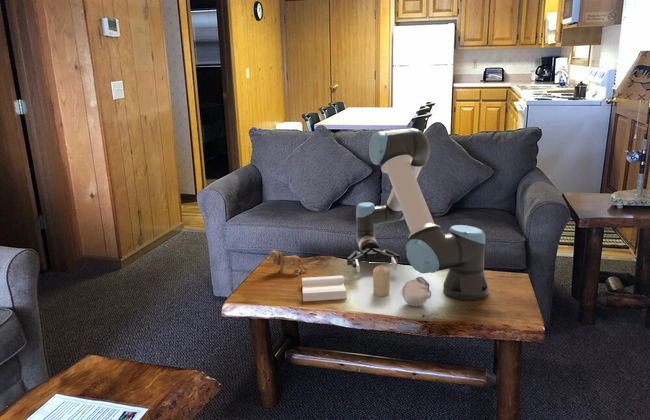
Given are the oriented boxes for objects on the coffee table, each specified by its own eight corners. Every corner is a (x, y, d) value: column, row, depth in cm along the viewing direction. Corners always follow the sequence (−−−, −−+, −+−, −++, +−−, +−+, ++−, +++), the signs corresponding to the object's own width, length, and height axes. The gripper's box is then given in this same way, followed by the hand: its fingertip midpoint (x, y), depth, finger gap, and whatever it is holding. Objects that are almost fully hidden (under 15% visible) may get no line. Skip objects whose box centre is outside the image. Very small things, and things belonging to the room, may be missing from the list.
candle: (388, 296, 185) (388, 269, 182) (372, 296, 186) (372, 269, 183) (389, 290, 190) (389, 263, 188) (374, 289, 191) (373, 263, 189)
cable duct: (343, 282, 198) (342, 275, 197) (346, 298, 185) (346, 290, 184) (302, 285, 197) (302, 277, 196) (303, 301, 184) (302, 293, 184)
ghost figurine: (423, 314, 172) (423, 285, 169) (397, 306, 177) (397, 279, 175) (435, 303, 179) (436, 275, 176) (410, 296, 184) (410, 269, 182)
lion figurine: (269, 274, 208) (267, 253, 206) (271, 269, 214) (269, 248, 211) (307, 273, 208) (306, 252, 205) (308, 268, 213) (307, 247, 210)
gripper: (399, 254, 217) (411, 275, 197) (338, 258, 216) (343, 279, 195) (399, 237, 215) (411, 256, 194) (337, 240, 214) (342, 260, 193)
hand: (377, 267), depth 195 cm, fingers open, 13 cm apart
